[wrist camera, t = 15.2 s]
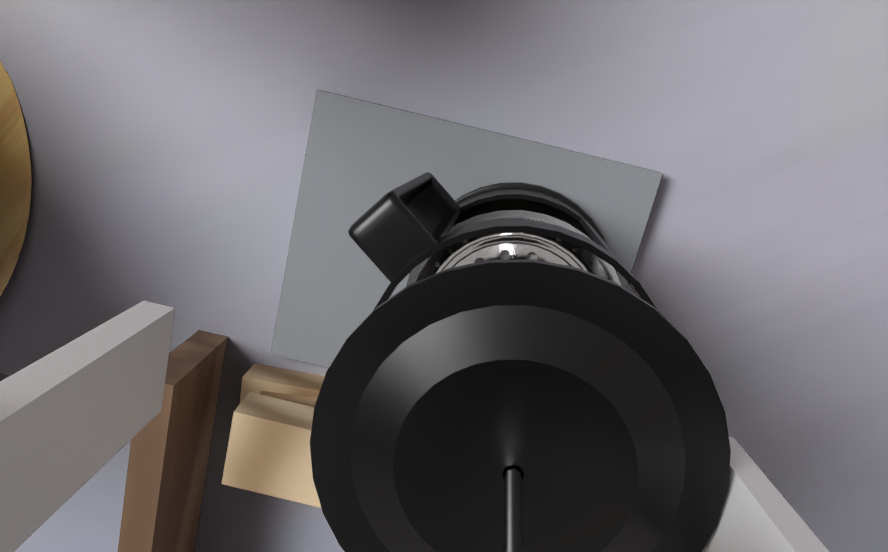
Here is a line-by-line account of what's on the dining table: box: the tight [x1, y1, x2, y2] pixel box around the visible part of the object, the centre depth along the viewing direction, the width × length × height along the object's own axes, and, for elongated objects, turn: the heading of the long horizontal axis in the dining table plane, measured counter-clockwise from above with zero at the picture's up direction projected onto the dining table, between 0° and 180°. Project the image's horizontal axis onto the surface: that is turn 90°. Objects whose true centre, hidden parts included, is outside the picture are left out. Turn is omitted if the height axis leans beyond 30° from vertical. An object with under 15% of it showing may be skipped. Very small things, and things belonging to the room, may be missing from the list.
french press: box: [310, 172, 731, 552], centre depth 19 cm, size 12×9×23 cm
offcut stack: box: [221, 364, 325, 508], centre depth 31 cm, size 18×5×6 cm, turn 81°
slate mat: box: [271, 90, 663, 368], centre depth 31 cm, size 16×13×1 cm
